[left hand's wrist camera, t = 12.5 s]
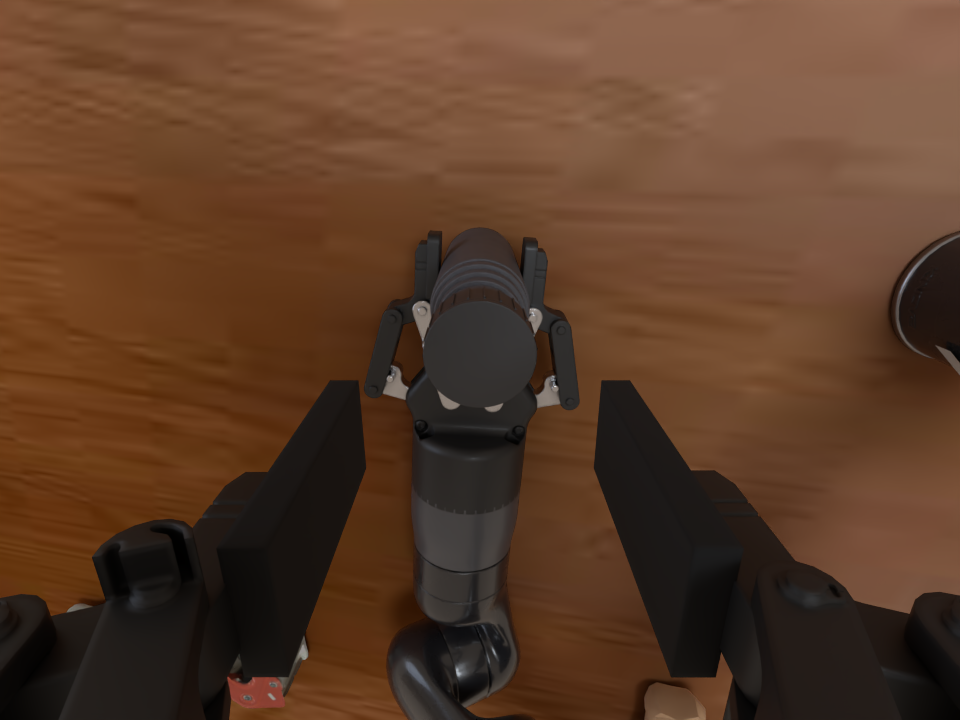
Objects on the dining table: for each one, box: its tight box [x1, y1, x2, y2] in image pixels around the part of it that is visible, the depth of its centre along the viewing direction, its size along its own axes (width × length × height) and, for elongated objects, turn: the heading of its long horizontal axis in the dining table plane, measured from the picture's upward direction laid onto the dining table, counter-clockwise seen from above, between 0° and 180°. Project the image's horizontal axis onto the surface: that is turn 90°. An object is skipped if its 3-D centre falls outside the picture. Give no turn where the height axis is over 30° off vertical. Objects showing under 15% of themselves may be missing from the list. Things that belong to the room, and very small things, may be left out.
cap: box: [423, 287, 537, 408], centre depth 21 cm, size 4×4×2 cm
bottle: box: [430, 228, 530, 320], centre depth 29 cm, size 5×5×18 cm
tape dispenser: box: [67, 604, 308, 708], centre depth 46 cm, size 18×5×20 cm
